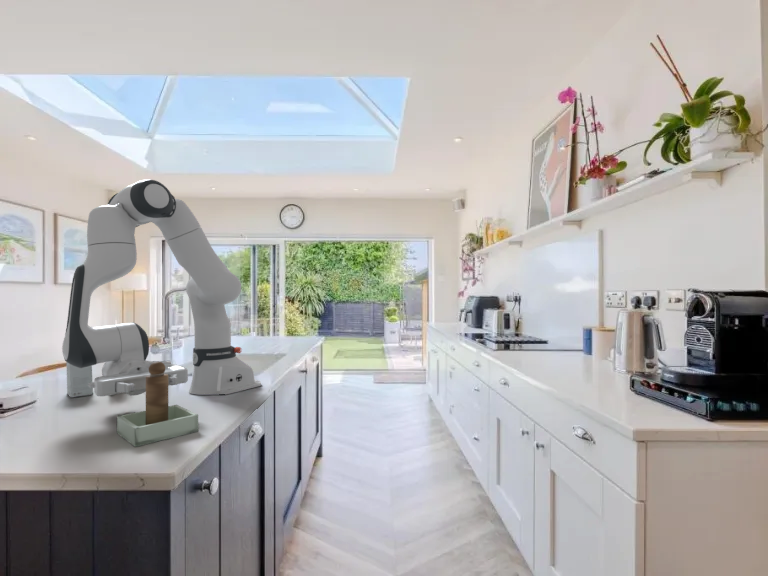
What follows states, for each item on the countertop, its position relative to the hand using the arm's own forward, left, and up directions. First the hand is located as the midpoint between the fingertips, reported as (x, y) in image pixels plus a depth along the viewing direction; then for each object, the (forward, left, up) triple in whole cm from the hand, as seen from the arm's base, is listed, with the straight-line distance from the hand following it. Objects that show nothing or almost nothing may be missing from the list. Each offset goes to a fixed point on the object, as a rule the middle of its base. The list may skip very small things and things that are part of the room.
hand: (153, 385), depth 98 cm
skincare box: (+4, -55, -11) cm, 56 cm away
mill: (0, +3, -9) cm, 10 cm away
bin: (0, +3, -10) cm, 11 cm away
